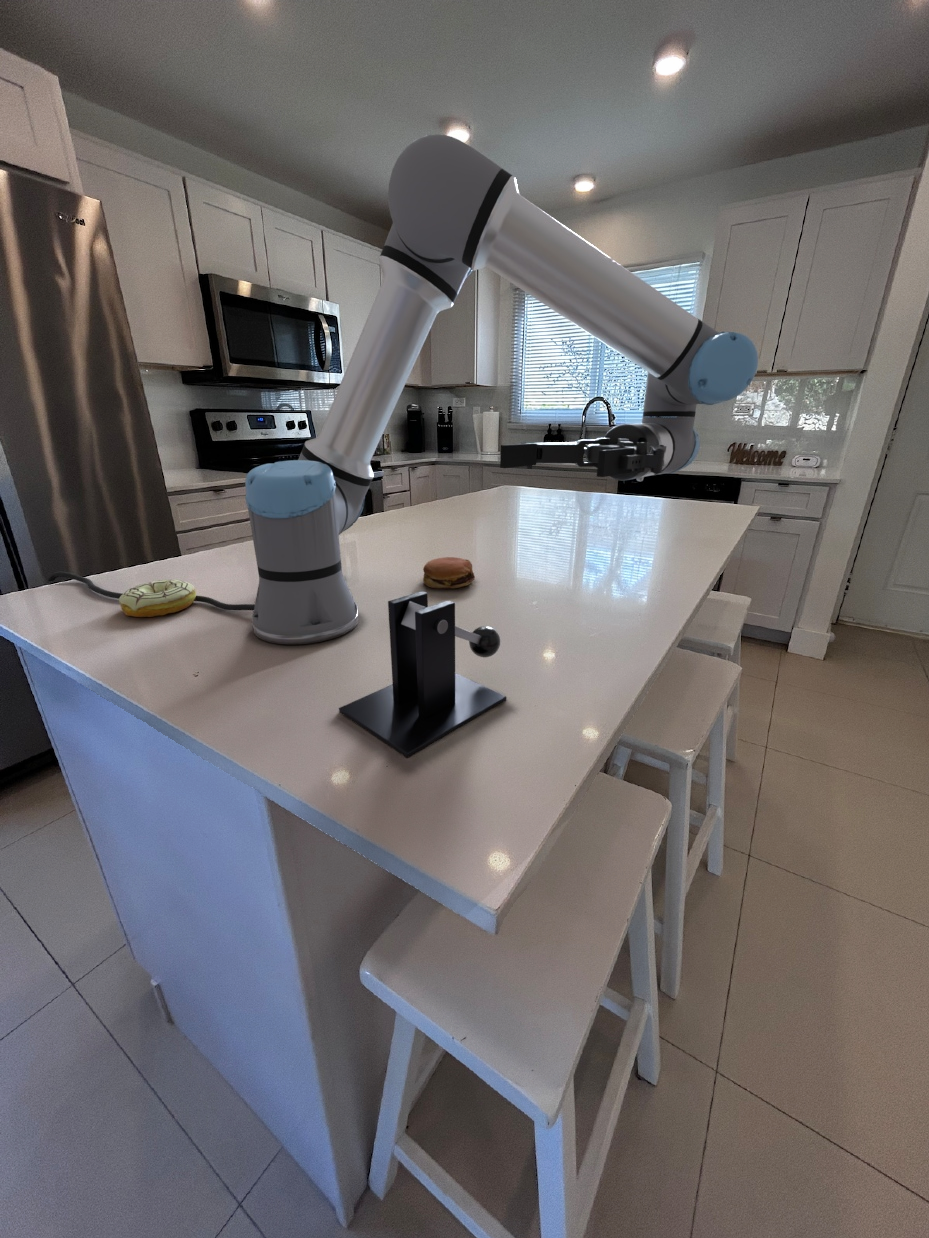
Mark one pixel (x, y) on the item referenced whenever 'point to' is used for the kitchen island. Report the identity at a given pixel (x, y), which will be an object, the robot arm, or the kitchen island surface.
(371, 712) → the black stand
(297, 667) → the kitchen island surface
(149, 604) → the decorated donut
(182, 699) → the kitchen island surface
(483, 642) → the lever handle
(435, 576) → the burger
